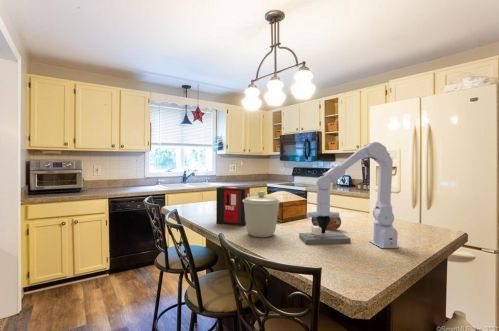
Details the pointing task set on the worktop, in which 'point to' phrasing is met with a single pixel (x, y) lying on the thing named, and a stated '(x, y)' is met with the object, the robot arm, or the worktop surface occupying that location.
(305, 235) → the fader console
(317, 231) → the fader tab
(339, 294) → the worktop surface
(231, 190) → the cleaning product box
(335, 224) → the tin
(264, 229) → the canister
